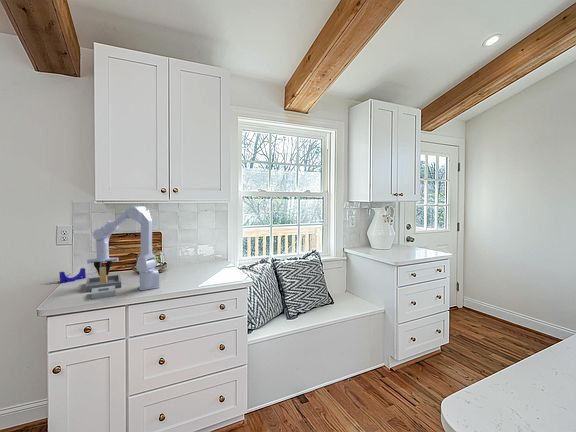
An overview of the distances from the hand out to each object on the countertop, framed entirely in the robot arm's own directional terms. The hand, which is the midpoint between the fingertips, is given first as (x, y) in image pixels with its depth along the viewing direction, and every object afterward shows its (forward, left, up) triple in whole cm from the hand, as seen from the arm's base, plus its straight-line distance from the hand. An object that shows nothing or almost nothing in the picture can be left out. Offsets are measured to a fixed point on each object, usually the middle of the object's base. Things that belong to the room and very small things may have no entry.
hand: (103, 275), depth 165 cm
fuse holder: (0, +18, -6) cm, 19 cm away
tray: (0, 0, -6) cm, 6 cm away
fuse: (0, +1, -3) cm, 4 cm away
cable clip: (+15, -21, -6) cm, 27 cm away
